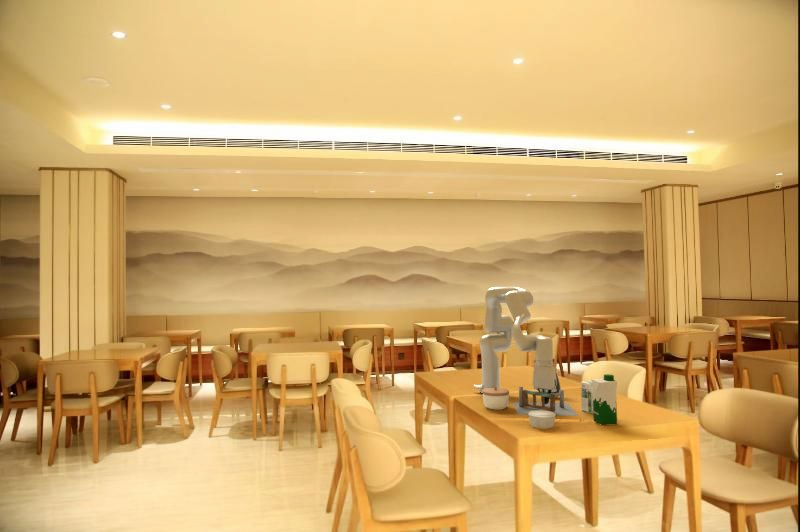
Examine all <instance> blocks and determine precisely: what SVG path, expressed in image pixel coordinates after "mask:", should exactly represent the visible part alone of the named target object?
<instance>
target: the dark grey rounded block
mask: <svg viewBox="0 0 800 532" xmlns="http://www.w3.org/2000/svg"><path fill="white" fill-rule="evenodd" d="M555 373H556V382H557V386H556V390H557V391H556V392H551V393H550V394H555V399H558V398H560V396H559V390H562V389H561V382H560V378H559V377H558V374H557V372H556V371H555ZM545 390H546V389H545ZM549 399H550V397H549Z"/></svg>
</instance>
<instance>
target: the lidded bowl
mask: <svg viewBox="0 0 800 532" xmlns="http://www.w3.org/2000/svg"><path fill="white" fill-rule="evenodd" d="M482 393H483V394H482V401H483V404H484V406H485V408H487V409H489V410H498V411H499V410H503V409H506V408H507V406H508V405H509V400H510V390H509V389H506V388H502V387H500V388H497V386H494V388H486V389H483V390H482Z"/></svg>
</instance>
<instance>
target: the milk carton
mask: <svg viewBox="0 0 800 532" xmlns="http://www.w3.org/2000/svg"><path fill="white" fill-rule="evenodd" d="M591 381H592V387H593V413H592V414H593V421H594V422H595V421H596V422H595V423H597V424H598V425H600V424H601V426H605V425H604V424H615V425H618V409H617V406H618V404H617V388H618V381H616V379H615V375H613V374H603V378H592V379H591Z"/></svg>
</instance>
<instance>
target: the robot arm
mask: <svg viewBox="0 0 800 532" xmlns="http://www.w3.org/2000/svg"><path fill="white" fill-rule="evenodd" d="M484 299H485V315H484V316H485V317H484V323H483V324H484V330H485V332H486V333H488V334H484V335H482V336H481V338H480V339H479V341H478V342H479V348H480V355H481V384H478V385H477V384H473V389H476V390H479V393H480V392H481V393H482V390H483V389H486V388H494V386H497V388H501V369H500V363H501V362H500V358H499V356H498V354H497V353H498V352H507V351H508V350H510V348H511V345H512V343H513V342H512V339H513V341H514V343H515V345H516V347H517V349H518V350H520V351H521V352H534V351H535V359H534V360H533V363H534V364H535V365H534V368H533V371H532V372H533V373H532V387H533V390H534V391H537V392H542V393H548V394H550V393H551V392H556V391H557V390H556V386H557V382H556V373H557V372H556V369H555V367H554V353H553V352H554V347H553V346H554V345H553V338H552V337H550V336H544V335H542V334H526V335H524V333H523V332H522V329H521V325H523V324H525V323H526V322H528V321H529V320H530V319H531V312H530V311H529V309H528V307H530V306H532V305H533V303H534V295H533V294H532V292H530V291H529V290H528V289H525V288H521V287H518V286H495V287H493V286H492V287H490V288H488V289H487V290H486V292H485V296H484ZM501 304H506V306H507V309H508V310H509V312H510V314H511V316H510V315H509V314H502V312H503V308H502V307H503V306H502V305H501ZM489 333H490V334H489ZM555 372H556V373H555ZM545 389H546V390H545ZM481 393H480V394H481ZM540 397H541V398H540V399H541V402H542V396H540ZM548 403H550V398H549V397H545V404H548Z"/></svg>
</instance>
